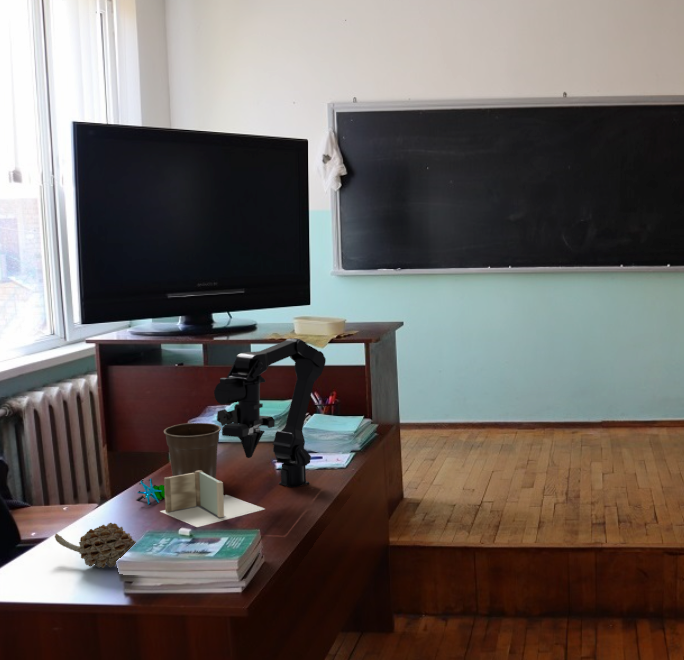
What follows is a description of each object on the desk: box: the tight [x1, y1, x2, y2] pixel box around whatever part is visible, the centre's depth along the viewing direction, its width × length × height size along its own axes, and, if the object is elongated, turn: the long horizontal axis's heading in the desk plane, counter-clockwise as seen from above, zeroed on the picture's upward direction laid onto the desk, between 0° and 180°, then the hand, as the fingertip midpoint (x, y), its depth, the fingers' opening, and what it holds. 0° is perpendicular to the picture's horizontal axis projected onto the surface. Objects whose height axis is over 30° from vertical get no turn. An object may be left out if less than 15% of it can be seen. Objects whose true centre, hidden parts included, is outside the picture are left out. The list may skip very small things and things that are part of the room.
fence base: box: [163, 470, 203, 512], centre depth 255 cm, size 11×2×9 cm, turn 123°
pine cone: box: [54, 522, 137, 569], centre depth 215 cm, size 22×10×10 cm, turn 71°
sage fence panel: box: [199, 472, 224, 517], centre depth 251 cm, size 12×1×9 cm, turn 32°
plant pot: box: [163, 422, 222, 488], centre depth 279 cm, size 16×16×16 cm
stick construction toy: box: [135, 478, 165, 505], centre depth 264 cm, size 12×7×8 cm
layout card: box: [159, 494, 265, 528], centre depth 253 cm, size 21×18×1 cm
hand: (248, 457), depth 261 cm, fingers closed
